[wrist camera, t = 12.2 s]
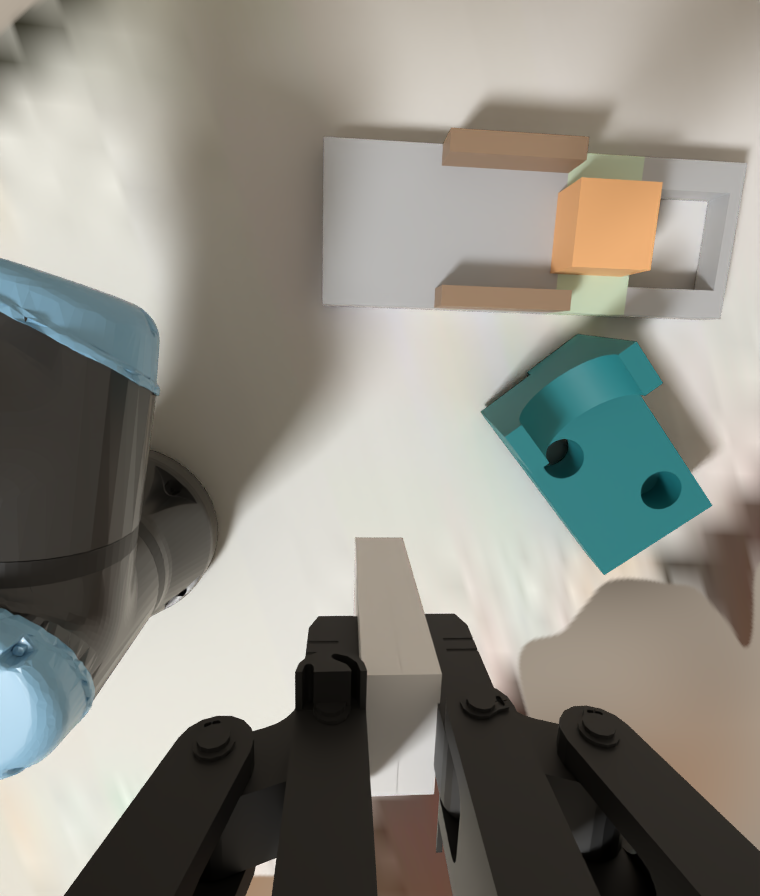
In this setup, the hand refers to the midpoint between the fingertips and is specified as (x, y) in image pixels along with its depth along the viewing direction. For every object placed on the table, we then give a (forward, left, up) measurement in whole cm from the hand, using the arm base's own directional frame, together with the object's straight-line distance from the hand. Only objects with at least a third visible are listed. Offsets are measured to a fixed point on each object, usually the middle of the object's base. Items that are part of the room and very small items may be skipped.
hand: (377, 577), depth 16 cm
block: (+18, +16, -27) cm, 36 cm away
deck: (+13, +16, -29) cm, 36 cm away
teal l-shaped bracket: (+21, -2, -30) cm, 37 cm away
